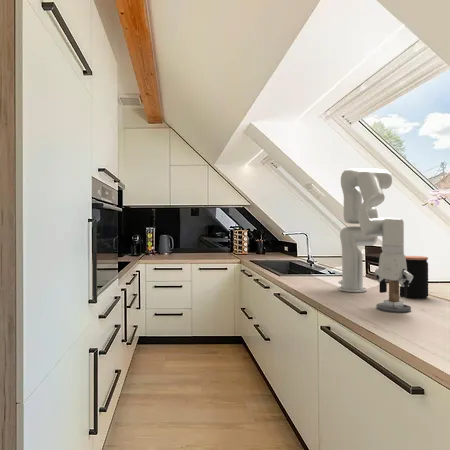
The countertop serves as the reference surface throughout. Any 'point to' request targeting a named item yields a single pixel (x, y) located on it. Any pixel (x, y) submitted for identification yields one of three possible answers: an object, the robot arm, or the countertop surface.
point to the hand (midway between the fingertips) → (393, 294)
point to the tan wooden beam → (393, 291)
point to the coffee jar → (417, 277)
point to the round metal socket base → (393, 307)
